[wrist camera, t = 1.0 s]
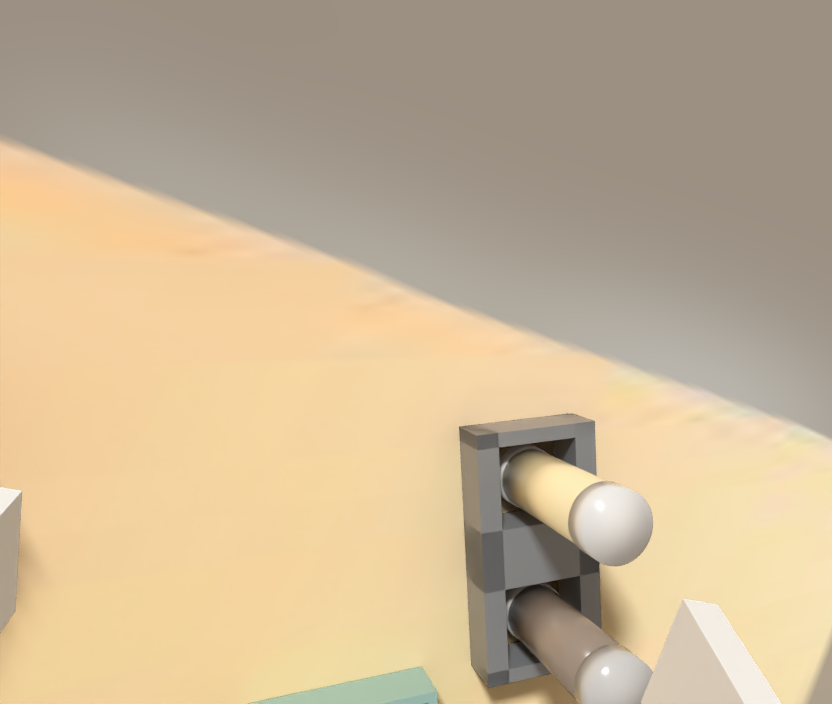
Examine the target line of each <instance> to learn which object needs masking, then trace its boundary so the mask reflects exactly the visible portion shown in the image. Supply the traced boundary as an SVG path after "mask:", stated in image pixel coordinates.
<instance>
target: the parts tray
mask: <svg viewBox="0 0 832 704" xmlns="http://www.w3.org/2000/svg"><path fill="white" fill-rule="evenodd" d="M249 704H438V699H437V690H436V689H435V687H434V685H433V684H432V682H431V681H430V679H429V677H428V676H427V674H426V673H425V671H424V669H423V668H422V667H418V668H413V669H408V670H404V671H399V672H394V673H390V674H385V675H380V676H375V677H371V678H366V679H361V680H357V681H352V682H347V683H343V684H338V685H333V686H329V687H324V688H319V689H314V690H310V691H305V692H300V693H296V694H291V695H286V696H282V697H277V698H272V699H268V700H263V701H258V702H253V703H249Z"/></svg>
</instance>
